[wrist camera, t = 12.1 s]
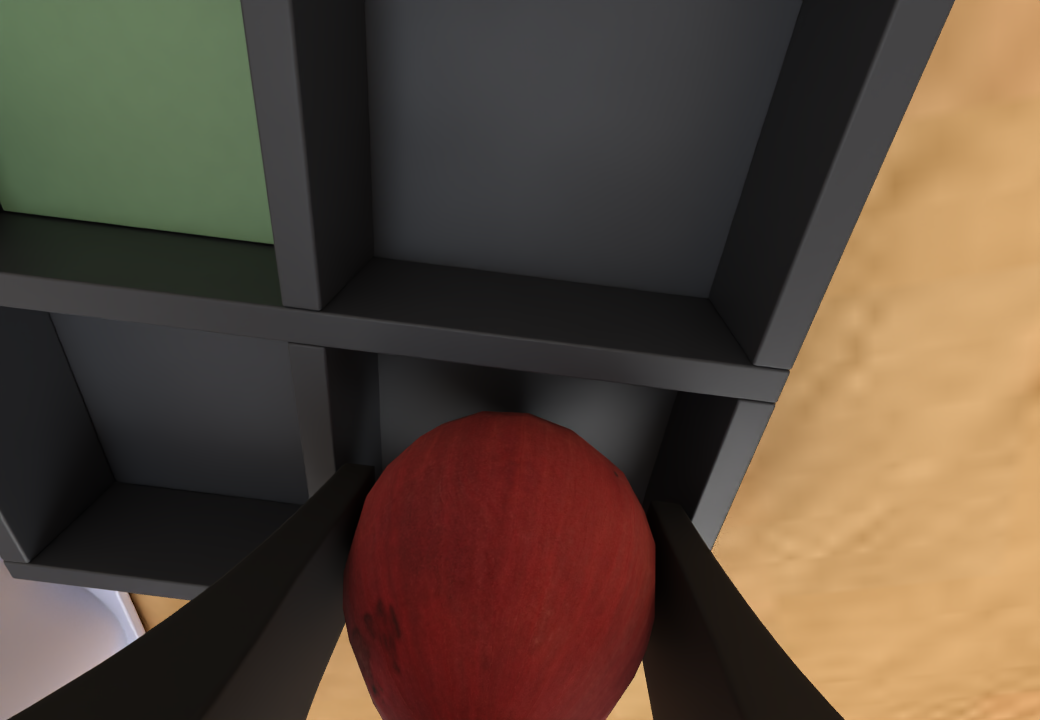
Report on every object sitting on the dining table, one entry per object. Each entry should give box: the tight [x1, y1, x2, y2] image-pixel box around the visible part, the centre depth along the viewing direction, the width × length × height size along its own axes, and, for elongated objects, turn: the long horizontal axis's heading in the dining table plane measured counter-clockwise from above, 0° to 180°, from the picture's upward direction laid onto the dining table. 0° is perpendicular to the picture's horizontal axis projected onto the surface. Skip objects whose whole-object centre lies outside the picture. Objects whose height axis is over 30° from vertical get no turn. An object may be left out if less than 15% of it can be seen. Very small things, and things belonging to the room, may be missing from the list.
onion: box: [343, 411, 655, 720], centre depth 10 cm, size 6×6×8 cm
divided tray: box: [0, 0, 955, 600], centre depth 10 cm, size 17×17×4 cm
